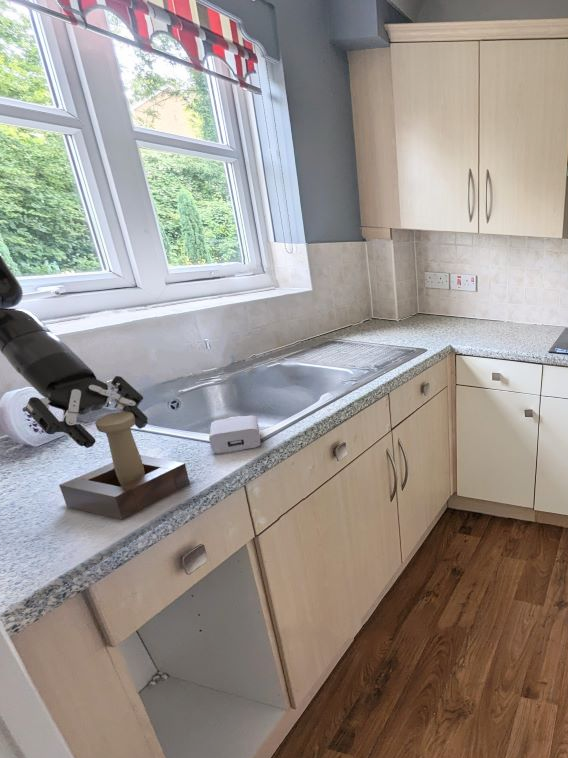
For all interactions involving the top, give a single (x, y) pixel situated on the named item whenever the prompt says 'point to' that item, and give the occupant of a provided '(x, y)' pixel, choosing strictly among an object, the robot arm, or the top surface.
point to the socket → (124, 488)
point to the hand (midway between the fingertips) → (119, 434)
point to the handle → (122, 445)
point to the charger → (234, 434)
